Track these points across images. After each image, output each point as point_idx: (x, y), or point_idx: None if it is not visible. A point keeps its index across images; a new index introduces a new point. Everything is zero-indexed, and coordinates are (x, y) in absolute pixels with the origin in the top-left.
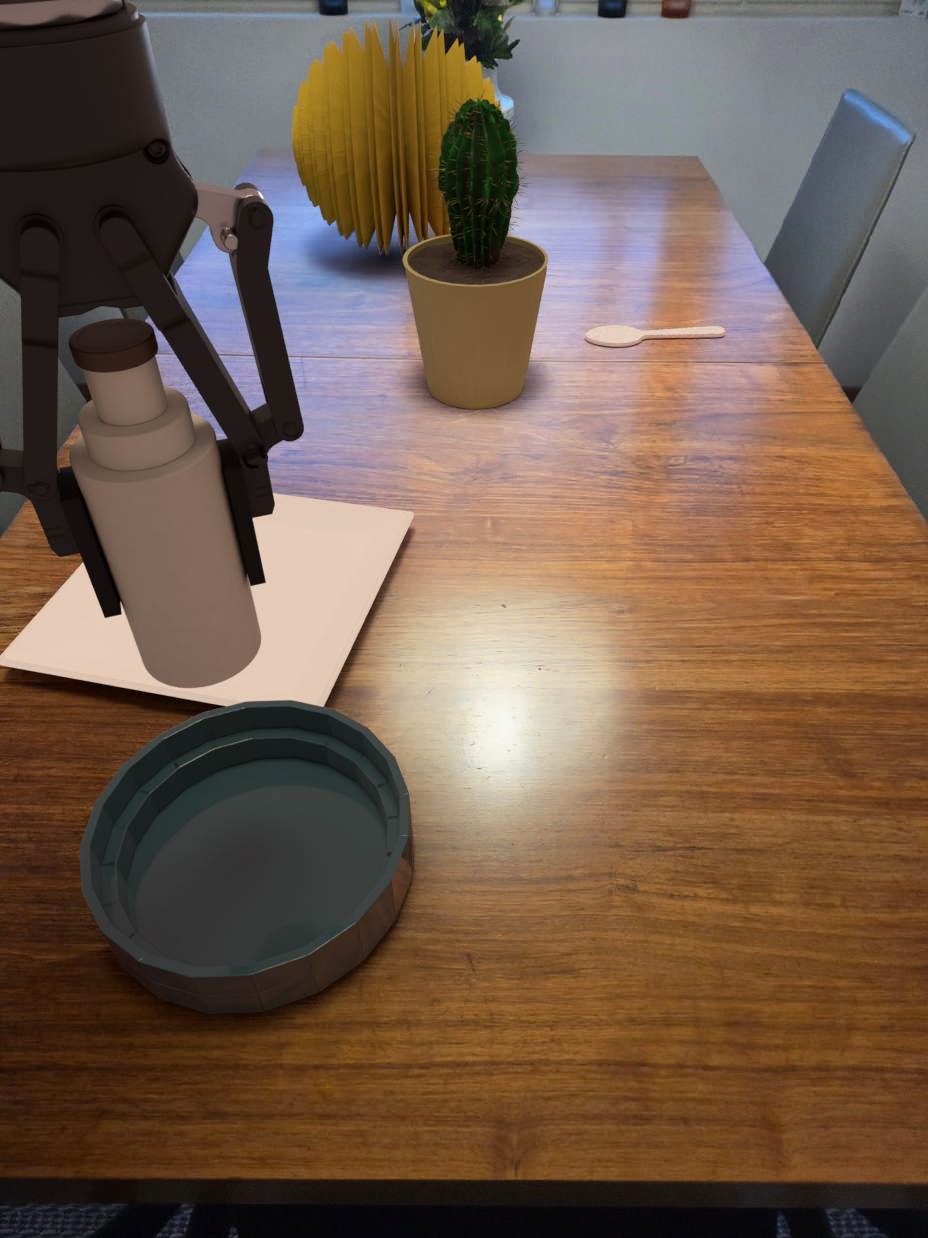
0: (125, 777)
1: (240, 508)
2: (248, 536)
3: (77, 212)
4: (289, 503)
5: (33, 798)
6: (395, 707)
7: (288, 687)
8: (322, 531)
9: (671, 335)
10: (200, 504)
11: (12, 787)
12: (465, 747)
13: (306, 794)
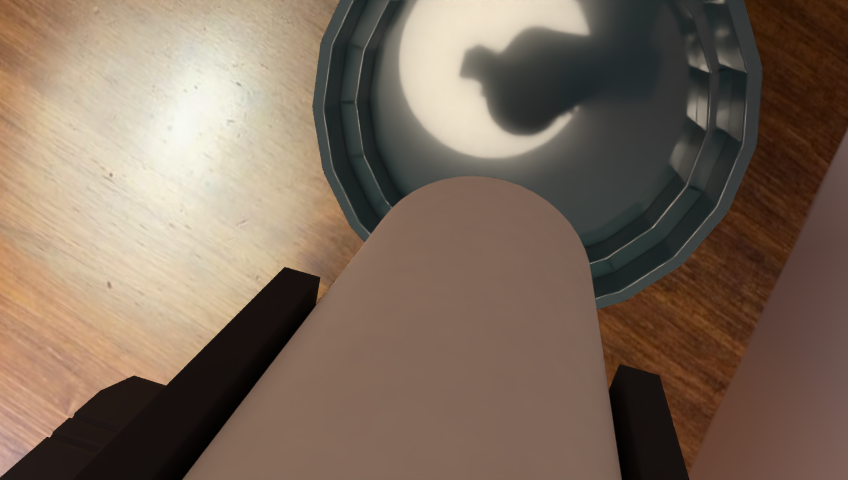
0: (628, 282)
1: (179, 410)
2: (231, 346)
3: None
4: None
5: (715, 350)
6: (289, 224)
7: None
8: None
9: None
10: (257, 451)
11: (729, 378)
12: (240, 122)
13: (436, 165)
